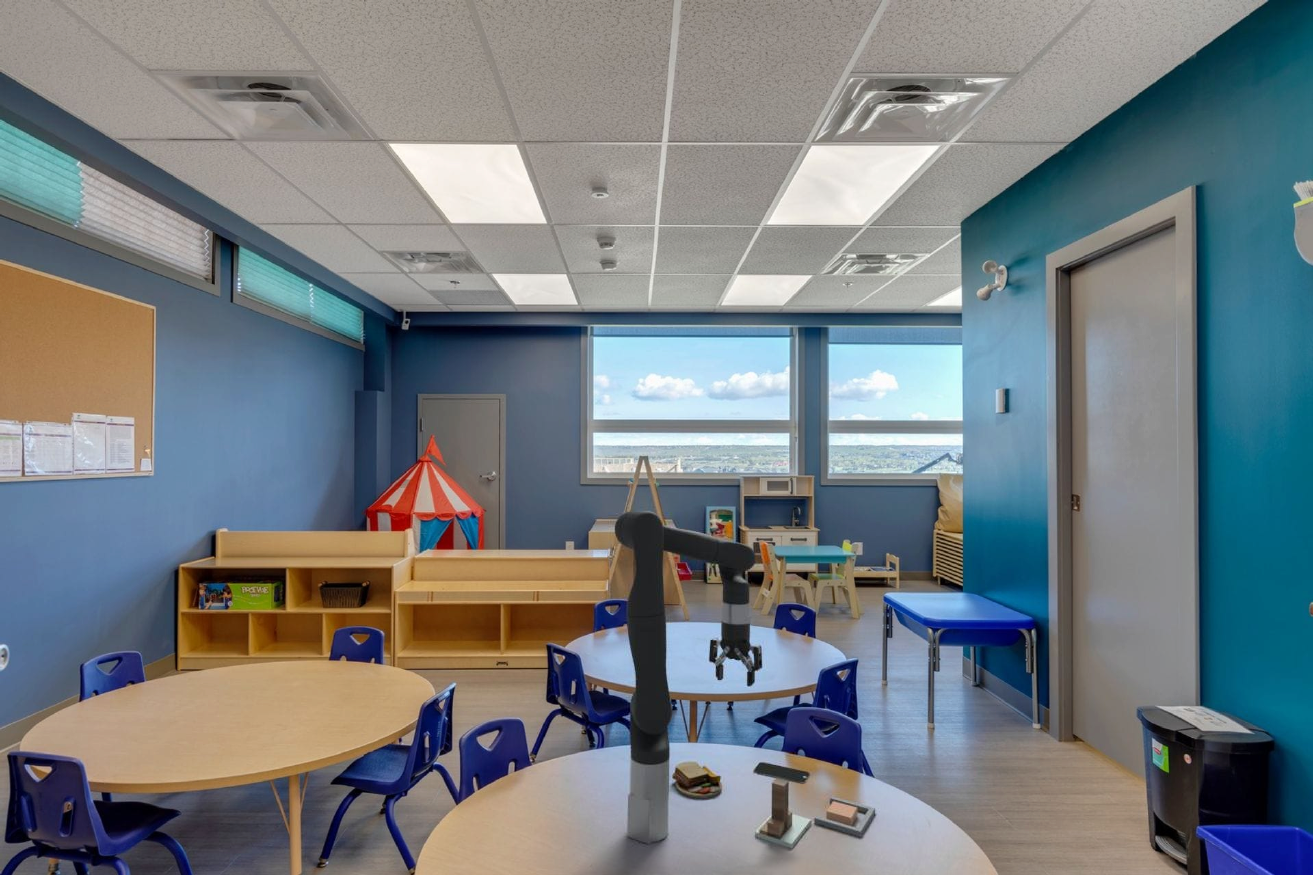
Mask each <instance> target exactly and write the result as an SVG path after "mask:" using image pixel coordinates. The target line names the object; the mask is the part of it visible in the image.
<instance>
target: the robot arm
mask: <svg viewBox="0 0 1313 875" xmlns="http://www.w3.org/2000/svg"><path fill="white" fill-rule="evenodd" d="M614 535H615V537H616V539H617V541H618V542H619V543H620V544H621V545H622V546H624V547H626V548H628V549H632V550H633V553H634V565H635V572H634V578H633V582H632V585H631V589H630V591H629V595H628V597H627V600H626V601H627V602H626V628H627V636H628V637H627V638H628V641H629V642H628V643H629V647H630V648H629V649H630V653H631V658H632V664H633V667H634V674H635V675H634V676H635V691H634V692H633V694H632V695H631V699H630V705H629V707H630V708H629V709H630V710H629V743H630V744H629V746H630V770H629V771H630V772H629V774H630V776H629V778H630V779H629V793H628V796H627V830H626V832H627V834H626V835H627V837H629V838H631V839H634V840H637V841H639V842H641V843H645V844H648V845H650V844H652V843H654V842H659V841H661V840H663V839H665V838H667V836H668V834H669V809H670V808H669V806H670V805H669V804H670V803H669V801H670V798H669V797H670V795H669V794H670V749H671V748H670V740H669V738H670V737H669V725H670V723H671V720H672V717H673V716H672V715H673V706H672V702H671V696H670V691H669V683H668V676H667V675H668V674H667V619H666V606H665V605H666V604H665V591H664V589H665V588H664V585H665V584H664V573H663V572H664V566H663V565H664V552H668V553H671V554H674V555H677V556H681V557H684V558H688V559H692V560H694V561H698V562H701V563H706V564H711V565H717V567H718V571H719V577H720V581H721V585H722V604H721V611H720V612H721V619H720V620H721V626H720V627H721V628H720V630H721V631H720V635H721V639H718V638H717V637H714V638H712V639H711V640H710V641H709V652H708V653H709V654H708V661H709V663H713V664H714V665H715V677H716V679H717V681H722V680H723V679H724V664H723V663H725V661H726V660H727V659H728V660H734V661H740V662H741V664H742V665H744V666H745V668H746V669H747V672H746V686H747V687H752V686H753V685H754V684H755V679H756V672H758V671H760V669H762V668H763V652H762V648H763V647H762V646H761V644H758V645H752V644H751V641H750V639H751V619H752V618H751V608H750V584H749V582H748V581H747V580H746V579H744V578H743V577H742V575H741V572H747V571H750V570H751V569H752V568H753V567H754V565H755V564H756V560H757V557H756V553H755V551H754V549H753V548H752V547H751V546H750V545H748V544H745V543H740V542H735V541H731V540H726V539H725V540H724V539H722V538H719V537H717V536H714V535H710V534H706V533H703V532H699V531H694V530H689V529H682V528H676V527H672V526H667V525H664V524H663V522H662V519H661V518H660V517H659V515H658V514H656V513H655V512H654V511H651V510H650V511H649V510H630V511H627V512H624V513H623V514H621V515H620V516H619V517H618V518H617V520H616V521H615V523H614ZM718 648H721V650H722V652H721V653H720V655H718V651H719V650H718ZM750 651H751V654H752V655H753V659H752V656H751V655H750Z"/></svg>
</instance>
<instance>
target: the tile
mask: <svg viewBox="0 0 1313 875" xmlns="http://www.w3.org/2000/svg"><path fill="white" fill-rule="evenodd" d="M825 817H826V818H825V819H828V820H832V821H835V822H838V823H842V824H845V825H849V826H852V827H853V825H854V823H855V821H856V820H857V818H858V811H857V807H853V806H849V805H845V804H842V803H838V802H834V801H833V802H832V803H830V805H829V807H828V808H827V810H826V816H825Z"/></svg>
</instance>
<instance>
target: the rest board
mask: <svg viewBox="0 0 1313 875" xmlns="http://www.w3.org/2000/svg"><path fill="white" fill-rule="evenodd" d="M771 816H772V813H771V814H770V815H769V816H768V817H767V819H765V820H764V821H763V823H761V825H760V826H759V827H758V828H757V829H756V830H755V831H754V837H756V838H759V839H762V840H765V841H768V842H772V843H774V844H777V845H780V846H783V847H785V848H786V847H787V848H789V849H793V847H794V846H795V845H796V844H797V842H798V841H799V840H800V838H801V837H802V836H803V835H804V834H805V832H806V831H807V830H808V829H809V827H810V826H811V824H812V819H811V818H808V817H803V816H800V815H797V814H794V813H792V826H791V827H790V828H789V829H788V830H787V831H786V833H785V834H784V835H783V836H782V837H781V839H780V840H779V839H776V838H773V837H770V836H766V835H763V834H760V833H759V829H760V828H761V827H762V826H763V825H764V824H765V823H766V822H767V821H768V820H769V819H770V818H771ZM806 829H807V830H806Z"/></svg>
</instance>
